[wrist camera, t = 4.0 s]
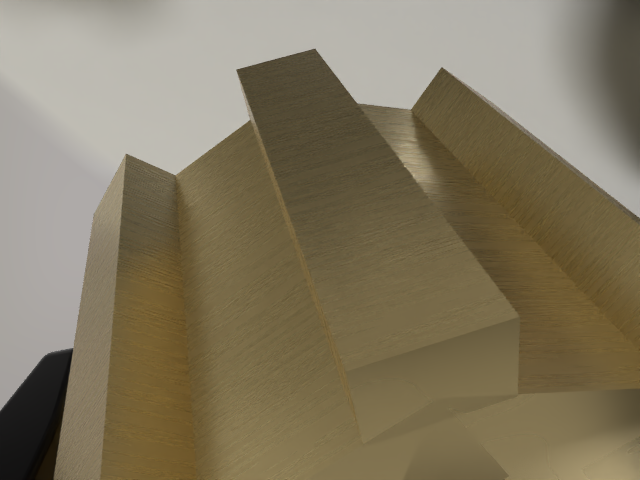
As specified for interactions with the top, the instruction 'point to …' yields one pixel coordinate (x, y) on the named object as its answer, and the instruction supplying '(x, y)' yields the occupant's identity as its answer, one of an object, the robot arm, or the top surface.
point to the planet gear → (357, 301)
